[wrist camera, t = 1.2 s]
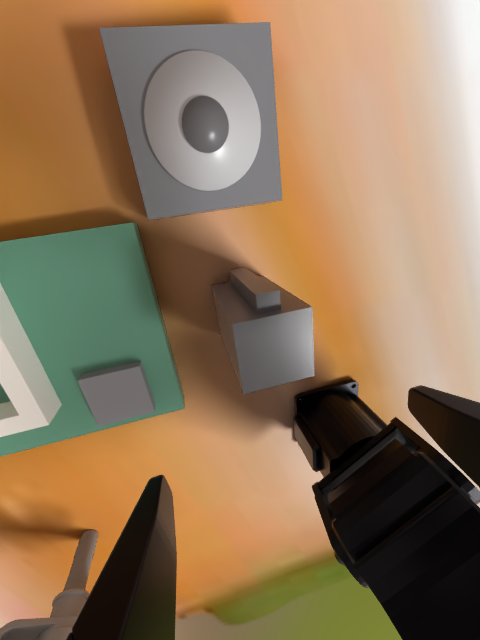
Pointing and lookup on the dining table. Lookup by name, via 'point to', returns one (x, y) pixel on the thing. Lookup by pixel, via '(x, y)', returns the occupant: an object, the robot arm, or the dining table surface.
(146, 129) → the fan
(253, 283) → the plug
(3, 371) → the board
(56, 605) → the mechanical component
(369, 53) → the dining table surface
